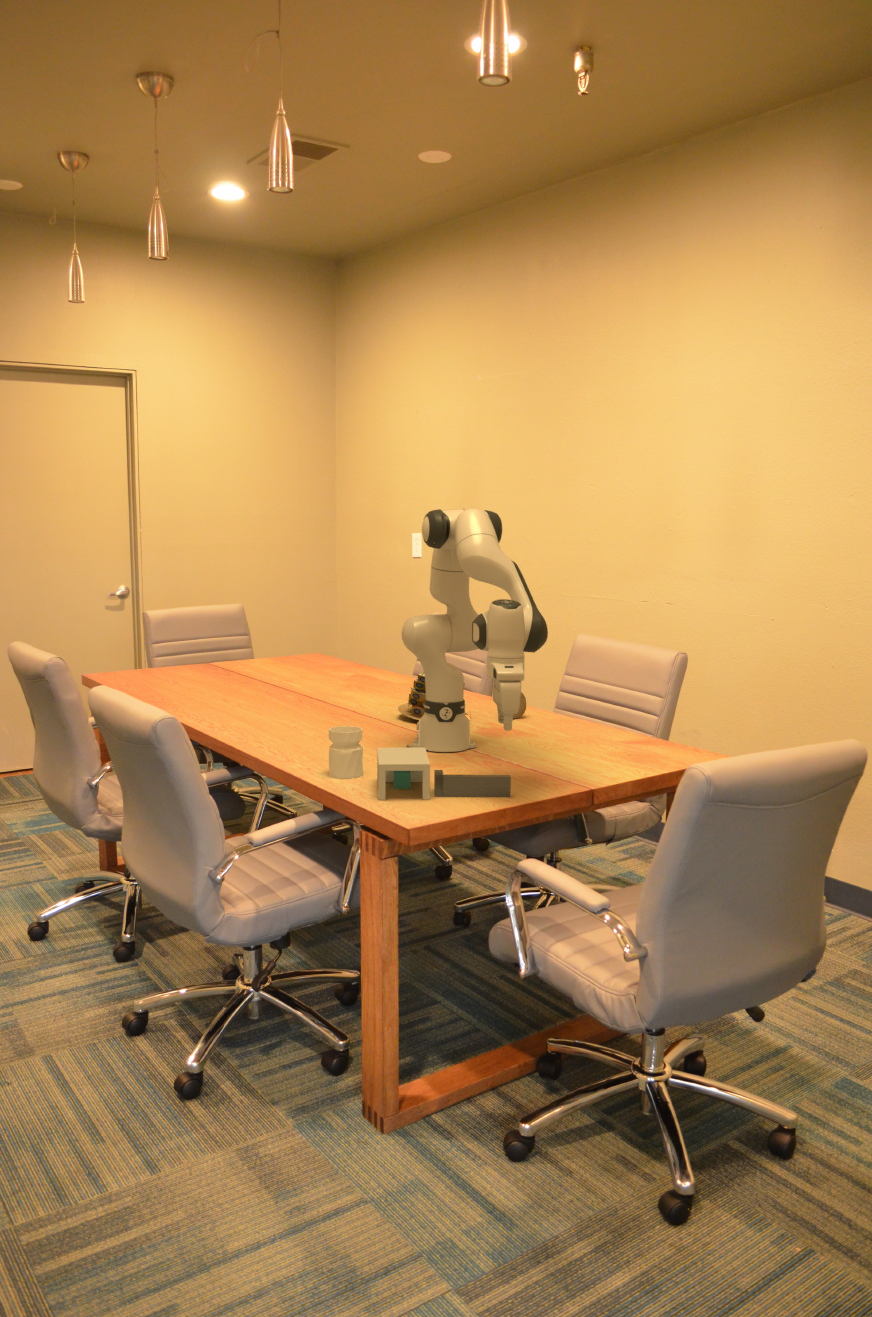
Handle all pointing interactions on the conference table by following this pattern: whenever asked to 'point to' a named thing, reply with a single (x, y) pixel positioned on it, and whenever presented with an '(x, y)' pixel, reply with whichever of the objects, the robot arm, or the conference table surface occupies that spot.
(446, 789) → the dark grey long block
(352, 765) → the pale lidded jar
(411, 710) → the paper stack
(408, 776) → the teal block
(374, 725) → the conference table surface
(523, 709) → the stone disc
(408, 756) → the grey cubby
